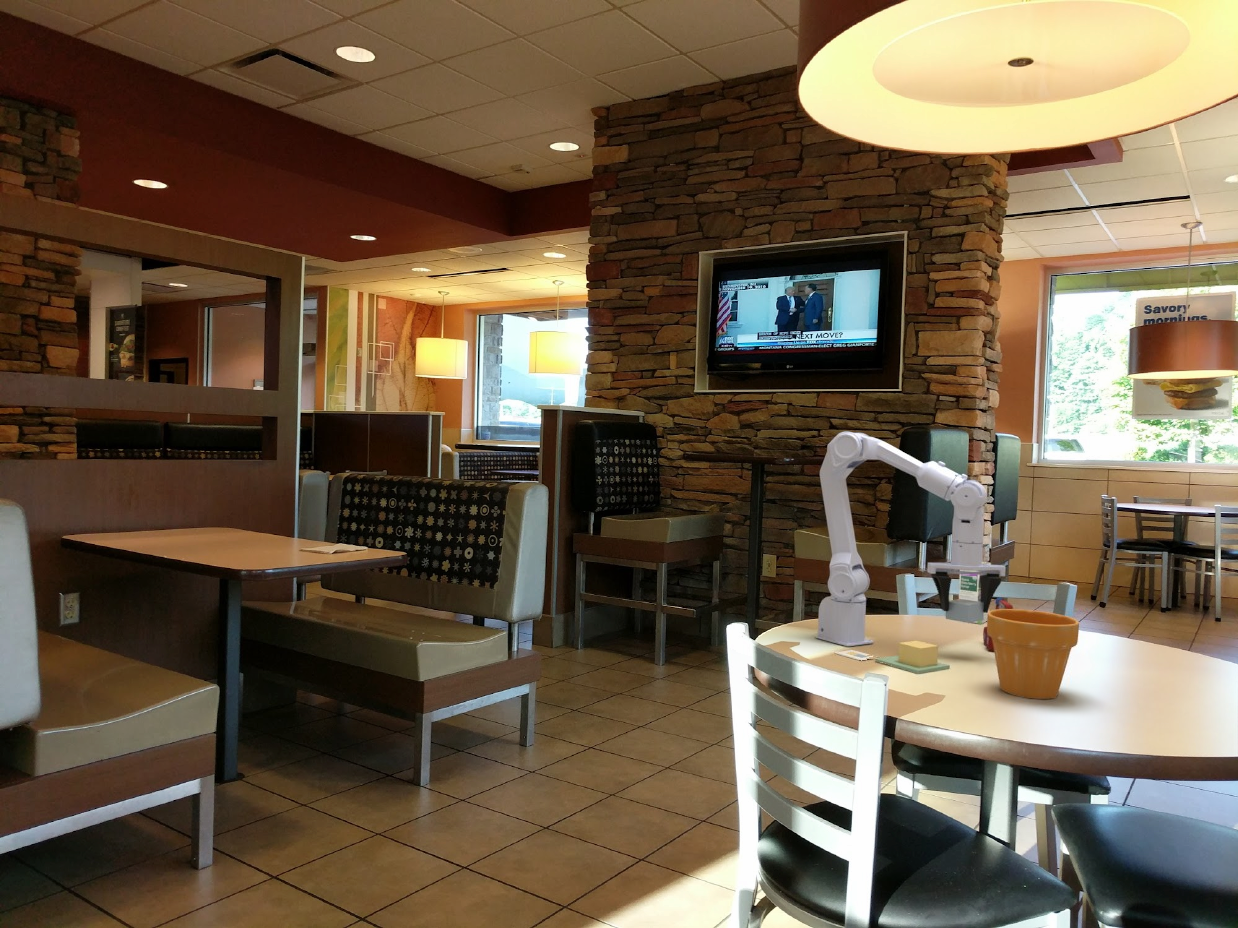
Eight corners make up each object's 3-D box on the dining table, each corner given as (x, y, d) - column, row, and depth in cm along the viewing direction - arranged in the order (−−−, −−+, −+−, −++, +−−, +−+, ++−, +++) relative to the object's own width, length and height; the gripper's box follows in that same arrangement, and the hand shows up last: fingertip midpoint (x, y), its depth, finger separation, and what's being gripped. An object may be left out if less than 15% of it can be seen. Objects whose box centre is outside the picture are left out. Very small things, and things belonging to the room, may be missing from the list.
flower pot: (1062, 685, 158) (1065, 611, 158) (1087, 707, 144) (1090, 627, 144) (977, 678, 161) (980, 606, 160) (993, 699, 147) (996, 621, 147)
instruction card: (834, 653, 177) (834, 651, 177) (852, 650, 180) (852, 649, 180) (861, 661, 171) (861, 659, 171) (879, 658, 174) (879, 657, 174)
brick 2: (945, 618, 176) (945, 601, 176) (961, 616, 179) (961, 598, 179) (968, 622, 172) (968, 604, 172) (983, 620, 175) (983, 602, 175)
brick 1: (898, 661, 169) (898, 642, 169) (915, 658, 172) (916, 640, 172) (919, 667, 165) (920, 648, 165) (937, 664, 168) (938, 645, 168)
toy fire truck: (1015, 644, 192) (1017, 595, 191) (1026, 657, 180) (1028, 605, 179) (980, 641, 193) (982, 593, 193) (989, 653, 181) (991, 602, 181)
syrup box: (956, 620, 216) (959, 561, 215) (965, 617, 220) (967, 559, 220) (981, 624, 212) (983, 563, 212) (989, 621, 217) (991, 561, 216)
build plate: (875, 661, 171) (875, 658, 171) (906, 656, 176) (906, 653, 176) (918, 673, 163) (918, 670, 162) (949, 668, 167) (949, 665, 167)
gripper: (996, 541, 179) (993, 608, 180) (923, 538, 180) (920, 605, 180) (1011, 545, 172) (1008, 615, 172) (935, 542, 173) (932, 612, 173)
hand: (964, 611), depth 176 cm, fingers closed on brick 2, 7 cm apart
